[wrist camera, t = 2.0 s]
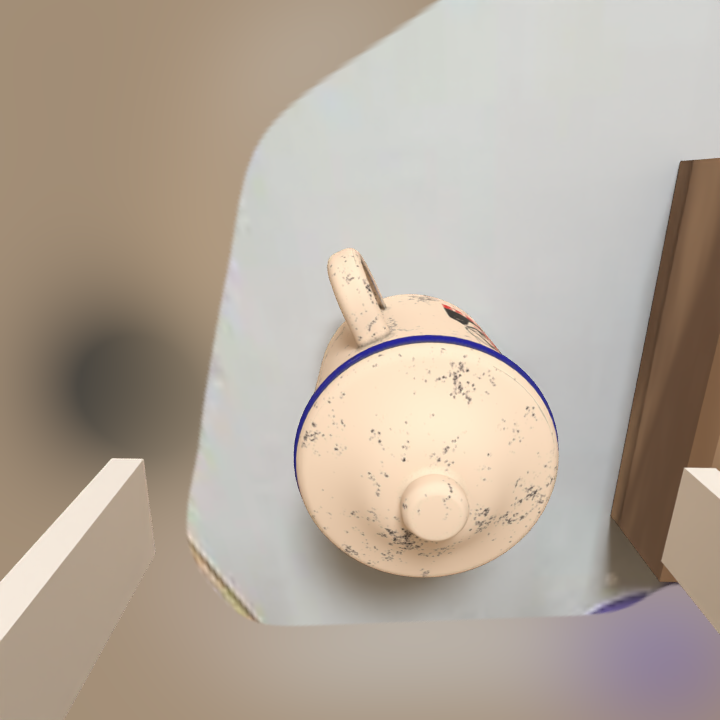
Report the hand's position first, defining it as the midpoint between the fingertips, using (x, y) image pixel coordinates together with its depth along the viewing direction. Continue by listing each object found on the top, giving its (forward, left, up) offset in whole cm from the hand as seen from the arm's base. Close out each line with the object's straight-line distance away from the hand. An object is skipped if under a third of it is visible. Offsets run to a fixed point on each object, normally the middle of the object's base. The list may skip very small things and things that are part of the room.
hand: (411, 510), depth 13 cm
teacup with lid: (0, 0, -14) cm, 14 cm away
